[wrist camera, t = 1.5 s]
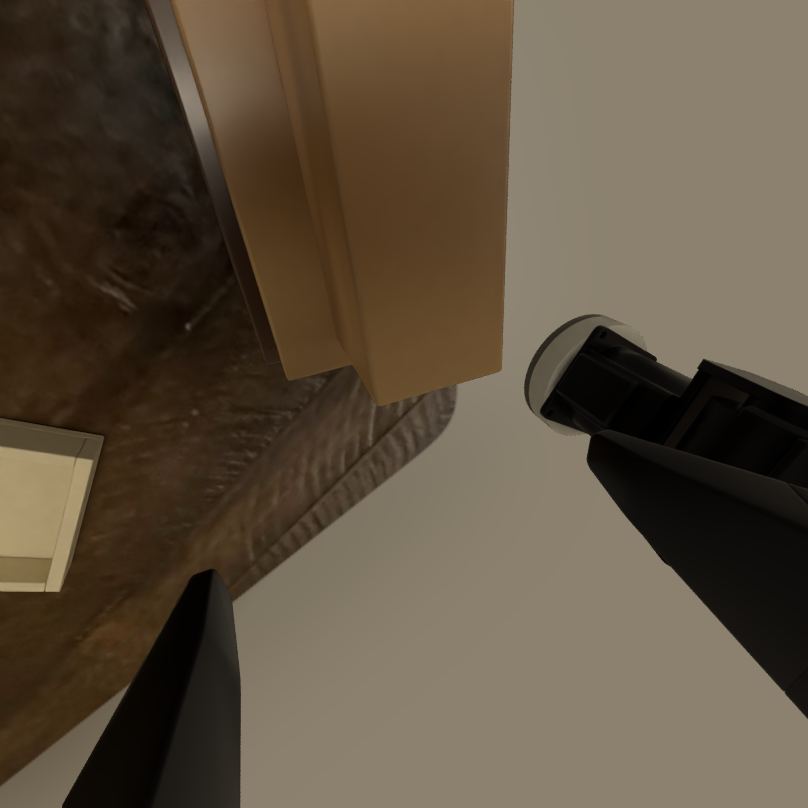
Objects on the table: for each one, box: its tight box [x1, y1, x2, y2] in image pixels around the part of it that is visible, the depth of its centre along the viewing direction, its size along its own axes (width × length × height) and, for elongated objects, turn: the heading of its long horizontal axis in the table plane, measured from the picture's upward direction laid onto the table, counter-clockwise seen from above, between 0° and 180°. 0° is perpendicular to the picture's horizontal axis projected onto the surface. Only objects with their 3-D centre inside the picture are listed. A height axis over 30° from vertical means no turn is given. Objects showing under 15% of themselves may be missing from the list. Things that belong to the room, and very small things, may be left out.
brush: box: [170, 0, 514, 406], centre depth 6 cm, size 6×4×4 cm
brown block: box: [144, 0, 281, 365], centre depth 12 cm, size 7×5×10 cm
